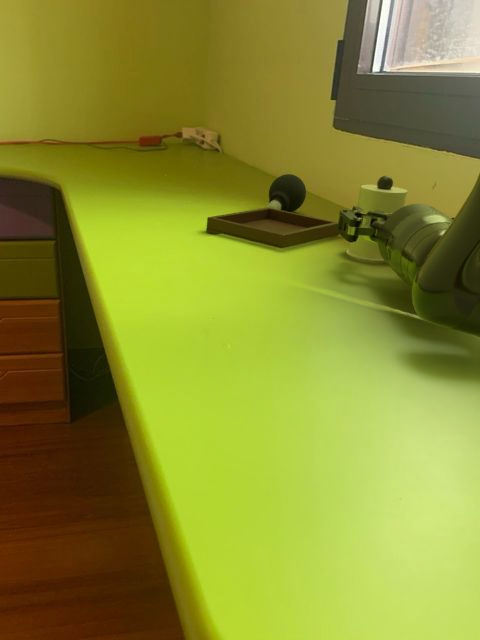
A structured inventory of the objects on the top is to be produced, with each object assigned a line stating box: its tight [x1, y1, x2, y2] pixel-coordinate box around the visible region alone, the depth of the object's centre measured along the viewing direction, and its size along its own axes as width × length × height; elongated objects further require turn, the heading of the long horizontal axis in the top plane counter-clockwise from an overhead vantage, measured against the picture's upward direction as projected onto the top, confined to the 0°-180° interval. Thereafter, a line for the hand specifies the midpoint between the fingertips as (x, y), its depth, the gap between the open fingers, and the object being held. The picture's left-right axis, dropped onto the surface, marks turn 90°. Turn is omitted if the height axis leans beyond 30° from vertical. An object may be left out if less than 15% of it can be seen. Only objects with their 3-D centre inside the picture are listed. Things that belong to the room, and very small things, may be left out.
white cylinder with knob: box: [345, 175, 408, 262], centre depth 93 cm, size 7×7×11 cm
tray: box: [205, 207, 340, 249], centre depth 104 cm, size 16×14×2 cm
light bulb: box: [265, 173, 307, 213], centre depth 119 cm, size 6×6×10 cm
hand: (387, 217), depth 88 cm, fingers open, 8 cm apart
